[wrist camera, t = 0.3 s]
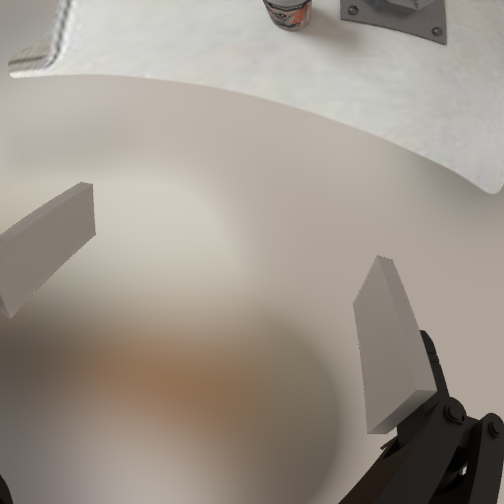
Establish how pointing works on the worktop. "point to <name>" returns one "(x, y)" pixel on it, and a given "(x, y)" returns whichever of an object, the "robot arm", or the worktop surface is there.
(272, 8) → the beer can
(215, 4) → the worktop surface
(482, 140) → the worktop surface
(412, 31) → the duct flange
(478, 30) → the worktop surface
